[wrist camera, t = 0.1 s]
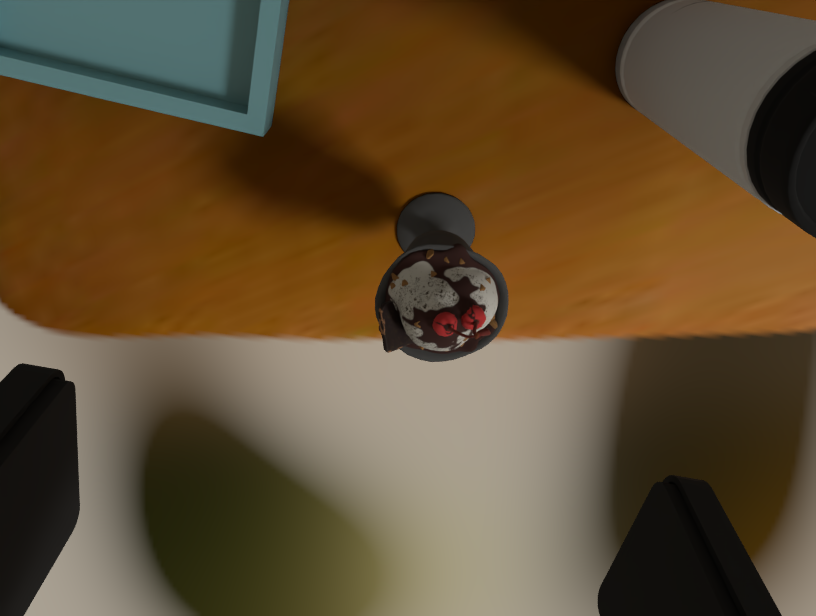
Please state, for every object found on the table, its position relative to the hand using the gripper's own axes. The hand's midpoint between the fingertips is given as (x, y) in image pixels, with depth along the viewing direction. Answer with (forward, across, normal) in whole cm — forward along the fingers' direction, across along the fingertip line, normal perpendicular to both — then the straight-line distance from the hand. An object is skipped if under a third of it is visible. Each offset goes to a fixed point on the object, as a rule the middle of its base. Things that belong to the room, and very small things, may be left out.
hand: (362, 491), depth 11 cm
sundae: (+31, -4, +7) cm, 32 cm away
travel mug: (+31, -14, -5) cm, 35 cm away
